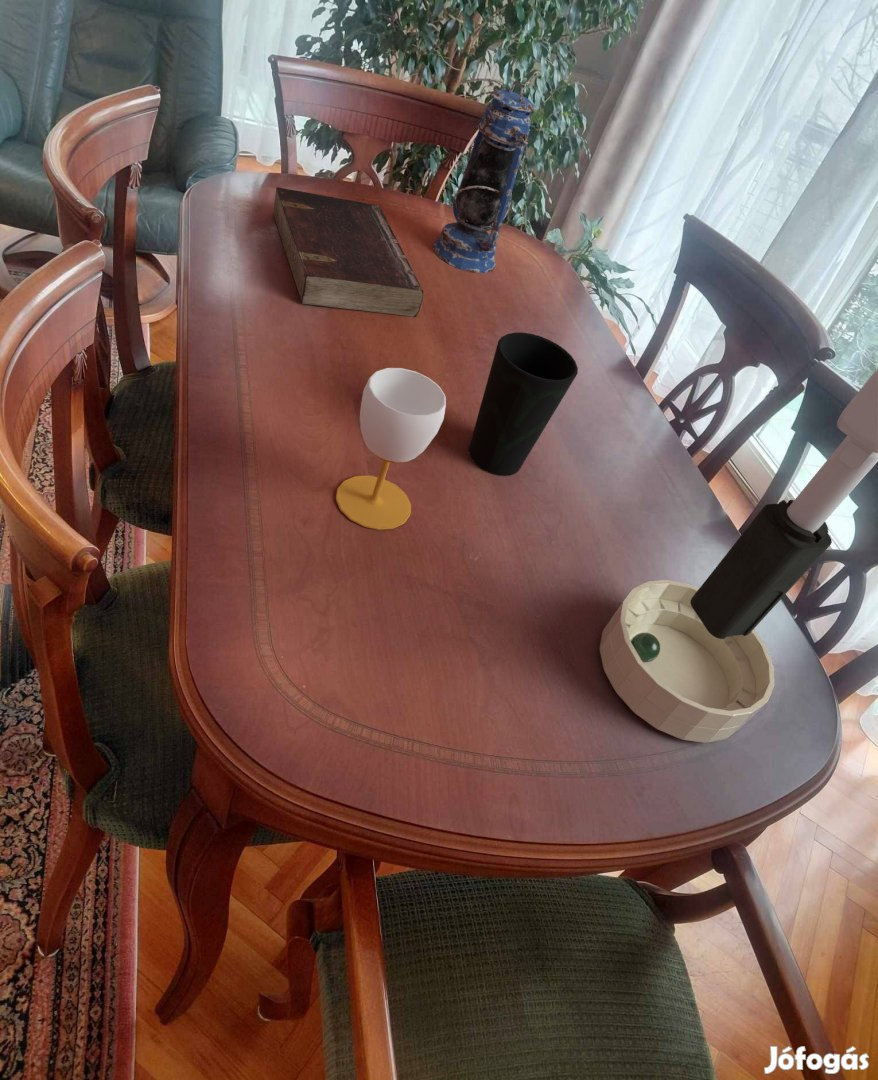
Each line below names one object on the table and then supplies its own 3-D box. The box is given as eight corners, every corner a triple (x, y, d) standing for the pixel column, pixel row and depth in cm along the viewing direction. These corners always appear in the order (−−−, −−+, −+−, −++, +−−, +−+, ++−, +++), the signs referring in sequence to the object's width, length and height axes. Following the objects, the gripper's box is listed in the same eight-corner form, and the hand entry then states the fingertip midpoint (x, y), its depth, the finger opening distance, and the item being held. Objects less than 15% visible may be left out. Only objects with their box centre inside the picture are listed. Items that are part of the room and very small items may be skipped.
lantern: (510, 278, 145) (574, 107, 125) (454, 276, 139) (511, 96, 119) (473, 236, 154) (527, 70, 133) (418, 233, 148) (466, 58, 127)
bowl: (744, 772, 79) (777, 742, 75) (586, 704, 79) (611, 671, 75) (742, 650, 92) (771, 618, 88) (607, 592, 92) (629, 558, 88)
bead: (650, 672, 84) (664, 655, 82) (623, 661, 84) (636, 643, 82) (652, 651, 86) (666, 633, 84) (626, 639, 86) (639, 622, 84)
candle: (713, 640, 72) (896, 431, 55) (685, 597, 75) (850, 386, 58) (754, 635, 74) (942, 431, 57) (725, 593, 77) (895, 388, 60)
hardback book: (417, 317, 125) (425, 289, 122) (301, 305, 118) (306, 275, 114) (375, 230, 143) (381, 203, 140) (272, 215, 136) (276, 187, 132)
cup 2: (492, 491, 99) (538, 388, 88) (443, 442, 104) (481, 338, 93) (545, 471, 105) (594, 373, 95) (497, 426, 110) (538, 327, 99)
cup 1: (417, 532, 90) (458, 423, 79) (339, 528, 87) (371, 413, 76) (404, 479, 96) (440, 371, 85) (331, 473, 93) (359, 360, 82)
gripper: (1002, 353, 44) (846, 525, 53) (1065, 296, 57) (931, 442, 66) (901, 294, 46) (769, 469, 55) (984, 252, 59) (866, 399, 68)
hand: (858, 454), depth 61 cm, fingers closed on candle, 3 cm apart
